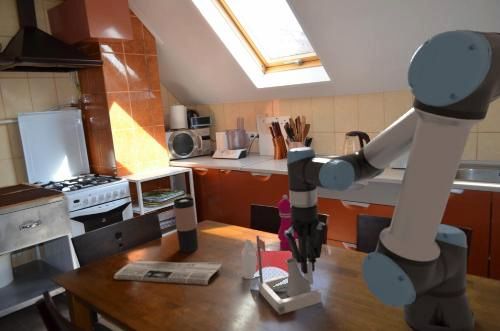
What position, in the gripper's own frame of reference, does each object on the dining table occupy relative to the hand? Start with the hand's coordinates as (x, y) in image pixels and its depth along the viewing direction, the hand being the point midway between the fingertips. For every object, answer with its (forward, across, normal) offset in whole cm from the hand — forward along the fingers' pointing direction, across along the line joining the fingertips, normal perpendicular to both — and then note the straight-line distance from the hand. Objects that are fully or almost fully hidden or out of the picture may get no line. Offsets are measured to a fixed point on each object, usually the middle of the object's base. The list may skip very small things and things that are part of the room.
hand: (308, 282), depth 108 cm
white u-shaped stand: (+2, +6, +1) cm, 6 cm away
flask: (+2, +4, +1) cm, 4 cm away
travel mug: (+3, +25, -51) cm, 57 cm away
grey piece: (+3, +11, -17) cm, 21 cm away
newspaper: (+3, +35, -33) cm, 48 cm away
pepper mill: (+3, -10, -32) cm, 34 cm away
